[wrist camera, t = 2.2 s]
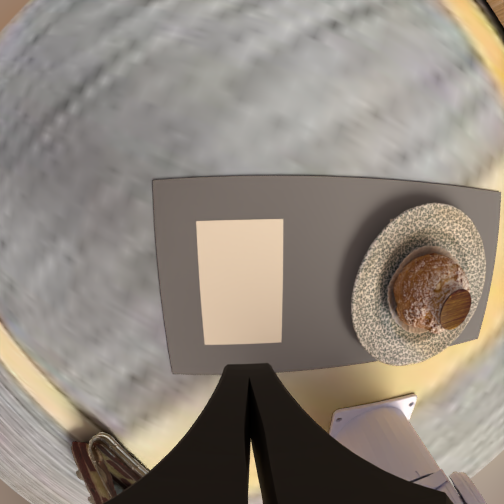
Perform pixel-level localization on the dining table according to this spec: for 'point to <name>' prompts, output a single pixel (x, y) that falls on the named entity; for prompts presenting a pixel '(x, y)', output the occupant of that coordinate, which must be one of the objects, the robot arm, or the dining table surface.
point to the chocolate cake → (105, 467)
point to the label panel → (283, 264)
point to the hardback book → (498, 9)
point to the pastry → (418, 284)
